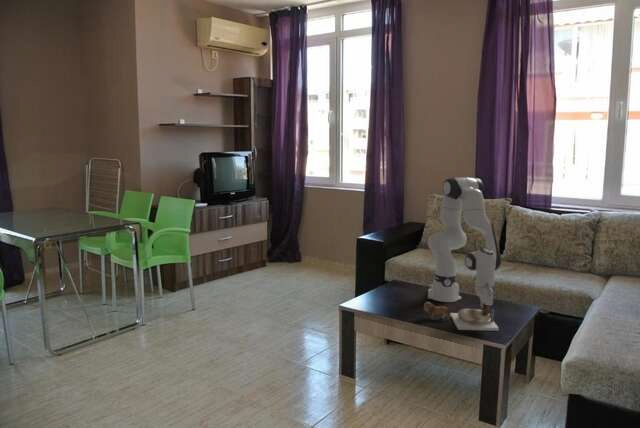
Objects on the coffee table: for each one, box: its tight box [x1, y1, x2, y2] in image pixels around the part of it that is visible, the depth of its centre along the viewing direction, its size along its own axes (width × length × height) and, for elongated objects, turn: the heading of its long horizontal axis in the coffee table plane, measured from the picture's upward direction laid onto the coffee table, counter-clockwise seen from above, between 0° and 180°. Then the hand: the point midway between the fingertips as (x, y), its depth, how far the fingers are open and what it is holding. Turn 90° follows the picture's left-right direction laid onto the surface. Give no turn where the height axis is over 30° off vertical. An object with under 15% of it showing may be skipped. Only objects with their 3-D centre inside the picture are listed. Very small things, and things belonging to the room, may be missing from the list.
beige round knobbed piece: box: [457, 303, 495, 322], centre depth 253 cm, size 17×15×6 cm
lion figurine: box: [423, 301, 452, 321], centre depth 259 cm, size 15×5×9 cm, turn 94°
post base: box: [449, 309, 500, 332], centre depth 254 cm, size 19×19×8 cm
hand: (483, 307), depth 257 cm, fingers closed
